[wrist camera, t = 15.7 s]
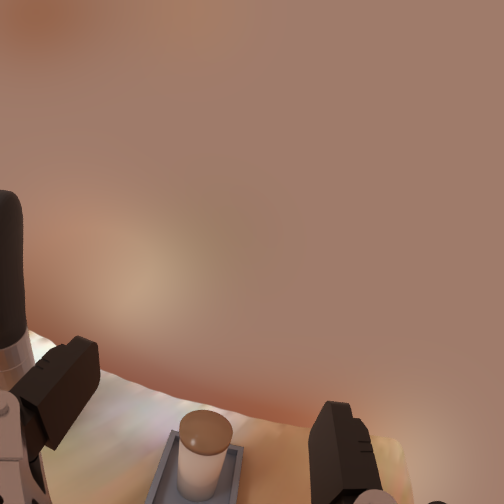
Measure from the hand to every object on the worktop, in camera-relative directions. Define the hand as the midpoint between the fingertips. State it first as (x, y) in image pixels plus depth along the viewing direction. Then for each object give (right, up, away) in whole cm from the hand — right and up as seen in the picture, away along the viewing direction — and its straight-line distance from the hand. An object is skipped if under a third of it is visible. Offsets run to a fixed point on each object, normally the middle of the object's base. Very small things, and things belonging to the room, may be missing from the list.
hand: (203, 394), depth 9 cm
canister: (-6, -26, +21) cm, 34 cm away
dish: (-6, -26, +22) cm, 34 cm away
